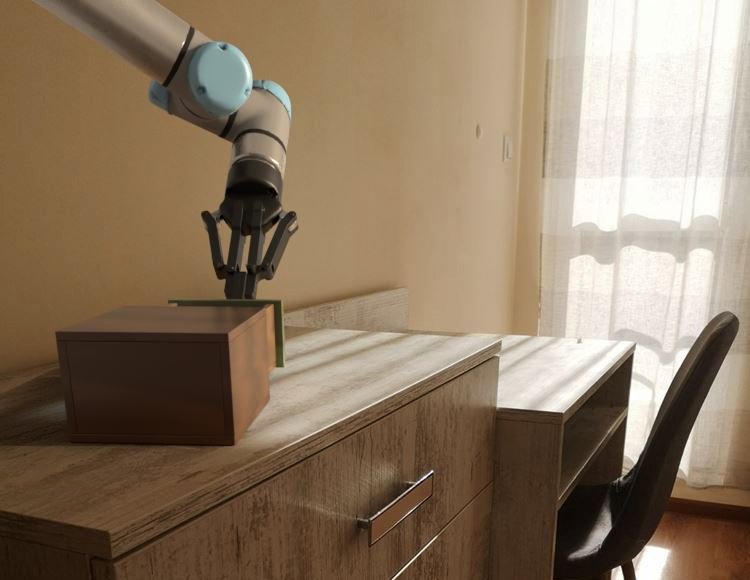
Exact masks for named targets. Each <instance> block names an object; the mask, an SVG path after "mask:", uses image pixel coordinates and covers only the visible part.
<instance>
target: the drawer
mask: <svg viewBox="0 0 750 580" xmlns="http://www.w3.org/2000/svg"><path fill="white" fill-rule="evenodd" d="M164 306H194V307H266V321H267V343H268V365H269V375H271V374H272V372H273V371H274V370H275V369H277V368H279V369H280V368H282V369H284V368H285V367H286V341H285V340H286V339H285V315H284V314H285V313H284V299H268V298H267V299H265V298H264V299H263V298H262V299H257V298H256V299H226V298H169V299H168V300H167V304H166V305H164Z"/></svg>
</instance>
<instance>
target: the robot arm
mask: <svg viewBox="0 0 750 580" xmlns="http://www.w3.org/2000/svg"><path fill="white" fill-rule="evenodd" d="M31 2H33V3H35V4H37V5H38V6H40V7H41V8H42V9H44V10H46V11H47V12H49V13H50V14H52V15H53V16H55V17H56V18H58V19H60V20H61V21H63V22H64V23H66V24H67V25H69V26H70V27H72V28H74V29H75V30H76V31H78V32H80V33H81V34H83V35H84V36H86V37H87V38H88V39H90V40H92V41H94V42H95V43H96V44H98V45H99V46H101V47H102V48H104V49H106V50H107V51H109V52H110V53H112V54H114V55H115V56H116V57H118V58H119V59H121V60H123V61H124V62H126V63H127V64H128V65H130V66H132V67H133V68H135V69H136V70H137V71H139V72H141V73H142V74H144V75H146V76H147V77H149V78H150V82H149V86H148V91H147V98H148V101H149V102H150V103H151V104H152V105H154V106H155V107H157V108H160V109H161V110H163V111H165V112H166V113H167V114H168V115H170V116H175V117H177V118H179V119H181V120H183V121H186V122H187V123H189V124H191V125H194V126H196V127H198V128H200V129H203V130H205V131H207V132H209V133H211V134H214V136H215V135H216V136H217V137H218V138H221V139H223V140H225V141H227V142H229V143H231V144H232V146H231V151H230V157H229V158H230V159H229V166H228V173H227V177H226V183H225V190H224V197H223V199H222V202H221V203H219V206H218V209H216V210H215V211H213V212H210V211H209V210H203V211H201V213H200V216H201V220H202V223H203V226H204V230H205V231H206V232H207V234H208V241H209V247H210V253H211V254H210V255H211V261H212V262H211V263H212V267H213V269H214V273H215V276H216V278H217V280H218V281H219V280H220V281H223V280H224V288H223V294H224V296H225V299H257V293H258V286H259V282H261V281H263V280H265V281H271V280H273V279H274V277H275V274H276V272H277V269H278V267H279V265H280V262H281V261H282V257H283V255H284V253H285V250H286V248H287V246H288V243H289V241H290V239H291V237H293V235H294V234H295V233H296V232H297V231H298V230H299V222H298V216H297V212H296V211H295V210H290V211H288V212H287V211H286V210H283V209H284V206H283V204H282V198H283V189H284V180H285V172H286V165H287V151H288V145H289V137H290V132H291V129H292V103H291V100H290V97H289V95H288V93H287V92H286V90H285V89H284V88H283V87H282V86H281V85H280V84H278V83H276V82H275V81H273V80H270V79H267V80H262V79H261V78H257V79H254V80H253V71H252V67H251V65H250V62H249V61H248V59H247V57H246V56H245V54H244V53H243V52H242V51H241V50H240V49H239V48H238V47H236V46H234V45H233V44H231V43H229V42H225V41H217V40H213V39H211V38H210V37H208V36H206V35H205V34H204V33H202V32H201V31H199V30H198V29H197V28H194V27H193V26H192V25H190V24H189V23H187V22H186V21H185V20H183V19H182V18H180V16H178V15H176V14H175V13H174V12H172V11H171V10H169V9H168V8H166V7H165V6H164V5H162V4H161V3H160V2H158V1H156V0H31ZM222 221H223V222H224V224H226V225H227V227H228V228H229V229H230V230H231V233H230V240H229V247H228V253H227V260H226V263H225V260H224V253H223V252H224V251H223V247H222V239H221V236H220V232H219V231H220V230H221V227H222ZM276 225H277V226H276ZM275 226H276V229H275V230H274V232H273V235H272V238H271V240H270V241H269V244H268V247H267V249H266V251H265V254H264V256H263V253H264V246H265V243H266V237H267V236H266V235H267V233H268V232H270V231H271V229H272V228H274V227H275ZM248 236H250V239H249V247H248V255H247V261H246V264H245V268H246V270H245V271H241V270H242V263H243V256H244V249H245V245H246V243H247V237H248Z"/></svg>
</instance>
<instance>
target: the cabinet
mask: <svg viewBox="0 0 750 580" xmlns="http://www.w3.org/2000/svg"><path fill="white" fill-rule="evenodd" d="M54 333H55V334H54V335H55V341H56V342H55V343H56V349H57V358H58V365H59V366H58V367H59V370H60V371H59V372H60V379H61V380H60V381H61V387H62V395H63V401H64V410H65V416H66V424H67V431H68V437H69V439H68V440H69V442H70V443H85V444H86V443H87V444H88V443H90V444H92V443H93V444H137V445H139V444H141V445H142V444H144V445H191V446H192V445H198V446H200V445H202V446H236V445H237V443H238V442H239V441H240V440H241V438H242V437H243V436H244V435H245V433H246V432H247V430H248V429H249V428H250V427H251V425H252V424H253V423H254V421H255V420H256V419H257V417H258V416H259V415H260V414H261V412H262V411H263V410H264V409H265V407H266V406H267V404H268V403H269V402H270V399H271V394H270V391H271V390H270V389H271V387H270V374H269V365H268V343H267V321H266V307H194V306H165V305H123V306H121V307H117V308H115V309H112V310H109V311H107V312H104V313H102V314H98V315H96V316H93V317H91V318H88V319H85V320H83V321H80V322H77V323H74V324H71V325H69V326H66V327H64V328H60V329H58V330H55V331H54Z"/></svg>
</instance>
